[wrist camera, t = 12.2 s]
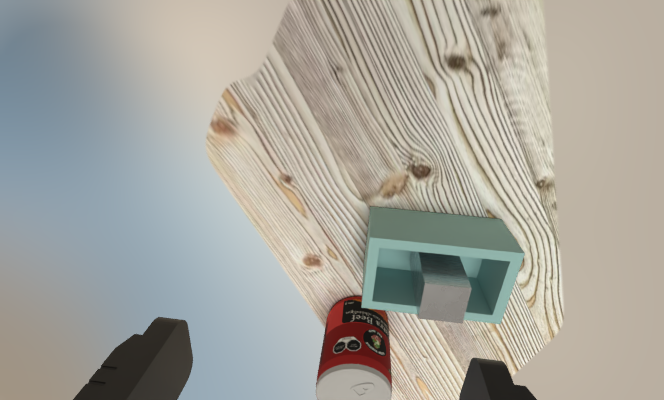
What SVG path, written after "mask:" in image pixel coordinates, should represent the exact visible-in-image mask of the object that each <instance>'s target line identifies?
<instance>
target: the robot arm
mask: <svg viewBox="0 0 664 400" xmlns="http://www.w3.org/2000/svg"><path fill="white" fill-rule="evenodd" d="M192 363H193V356H192V349H191V343H190V336H189V330H188V325H187V322H186V321H185V320H178V319H171V318H163V317H158V318H156V319H155V320H154V321H153V322H152V323H151V325H150V326H149V327H148V329H147V330H146V331H145V332H144V334H143V335H138V334H134V335H133V336H131V337H130V338H129V339H127V340H126V341H125V342H123V343H122V344H120V345H119V346H118V347H116V348H115V349H114V351H113V352H112V353H111V354H110V355H109V357H108V358H107V359H106V360H105V361H104V363H103V364H102V365H101V368H100V369H98V370H97V371H96V372H95V374H94V375H93V376H92V377H91V379H90V380H89V383H88V384H86V385H85V386H84V387H83V388H82V389H81V391H80V392H79V393H78V394H77V395H76V397H75V398H74V399H73V400H177V399H178V397H179V395H180V393H181V392H182V390H183V388H184V386H185V384H186V382H187V380H188V378H189V375H190V372H191V368H192ZM459 400H537V399H536V398H535V397H534V396H533V395H532V393H531V392H530V391H529V390H528V389H527V387H525V386H520V385H514V383H513V381H512V378H511V376H510V373H509V371H508V368H507V366H506V365H505V363H504V362H502V361H496V360H488V359H480V358H472V360H471V362H470V365H469V368H468V371H467V374H466V377H465V380H464V383H463V387H462V390H461V393H460V398H459Z"/></svg>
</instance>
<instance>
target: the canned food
mask: <svg viewBox="0 0 664 400" xmlns="http://www.w3.org/2000/svg"><path fill="white" fill-rule="evenodd" d="M361 306H362V297H357V296H356V297H349V298H345V299H343V300H341V301H339V302H338V303H336V304H335V305H334V306H333V308H332V309H331V311H330V313H329V314H328V318H327V323H326V328H325V335H324V340H323V346H322V352H321V358H320V364H319V370H318V376H317V383H316V396H317V400H391V396H392V395H391V394H392V378H391V361H390V343H389V325H388V318H387V315H386V313H385V311H384V310H377V309H369V308H361Z"/></svg>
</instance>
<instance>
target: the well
mask: <svg viewBox="0 0 664 400" xmlns="http://www.w3.org/2000/svg"><path fill="white" fill-rule="evenodd" d="M411 251H416V252H426V253H435V254H445V255H454V256H460V259H461V262H462V264H463V267H464V269H465V272H466V275H467V277H468V280H469V282H470V285H471V288H472V290H471V293H470V297H469V301H468V305H467V308H466V312H465V316H464V319H463V320H470V321H478V322H487V323H495V324H500V323H501V321H502V318H503V315H504V312H505V309H506V306H507V303H508V300H509V298H510V295H511V292H512V289H513V286H514V283H515V280H516V277H517V275H518V272H519V269H520V266H521V263H522V260H523V257H524V254H525V253H524V252H523V250H522V249H521V247H520V246H519V244H518V243H517V241H516V240H515V239H514V237H513V236H512V234H511V233H510V231H509V230H508V228H507V227H506V225H505V224H504V222H503V221H502V220H501V219H495V218H485V217H475V216H464V215H454V214H444V213H434V212H423V211H413V210H403V209H393V208H382V207H372V206H370V215H369V223H368V232H367V241H366V249H365V258H364V267H363V284H362V306H361V308H369V309H377V310H386V311H394V312H403V313H411V314H417V308H416V301H415V295H414V289H413V282H412V276H411V269H410V263H409V261H410V255H411Z"/></svg>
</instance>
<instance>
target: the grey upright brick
mask: <svg viewBox="0 0 664 400" xmlns="http://www.w3.org/2000/svg"><path fill="white" fill-rule="evenodd" d="M409 263H410V269H411V276H412V282H413V289H414V295H415V301H416V308H417V314H418V318H420V319H429V320H438V321H447V322H456V323H463V319H464V316H465V312H466V308H467V305H468V301H469V297H470V293H471V290H472V288H471V285H470V282H469V280H468V277H467V275H466V272H465V269H464V267H463V264H462V262H461V259H460V256H454V255H445V254H435V253H426V252H416V251H411V255H410V261H409Z"/></svg>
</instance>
